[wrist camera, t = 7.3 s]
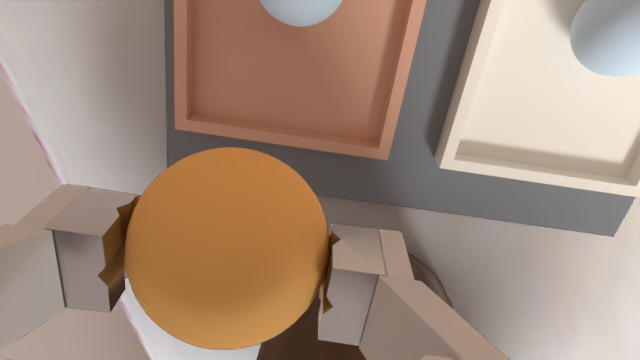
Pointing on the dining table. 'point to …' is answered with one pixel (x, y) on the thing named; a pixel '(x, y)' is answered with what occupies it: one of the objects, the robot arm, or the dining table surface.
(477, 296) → the dining table surface
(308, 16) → the blue ball
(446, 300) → the plant pot
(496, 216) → the slate mat
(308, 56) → the terracotta tray
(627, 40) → the blue ball
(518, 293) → the dining table surface
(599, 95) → the cream tray
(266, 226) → the orange ball
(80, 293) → the robot arm
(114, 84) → the dining table surface
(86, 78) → the dining table surface
